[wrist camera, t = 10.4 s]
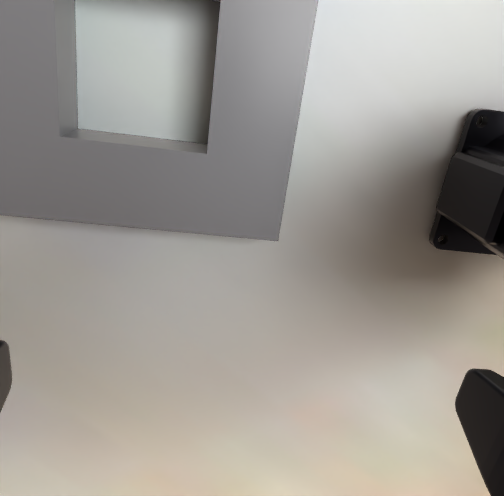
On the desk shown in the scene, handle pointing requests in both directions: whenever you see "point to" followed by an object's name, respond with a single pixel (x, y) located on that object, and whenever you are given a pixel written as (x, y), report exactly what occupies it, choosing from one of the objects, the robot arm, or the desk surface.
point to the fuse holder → (146, 148)
